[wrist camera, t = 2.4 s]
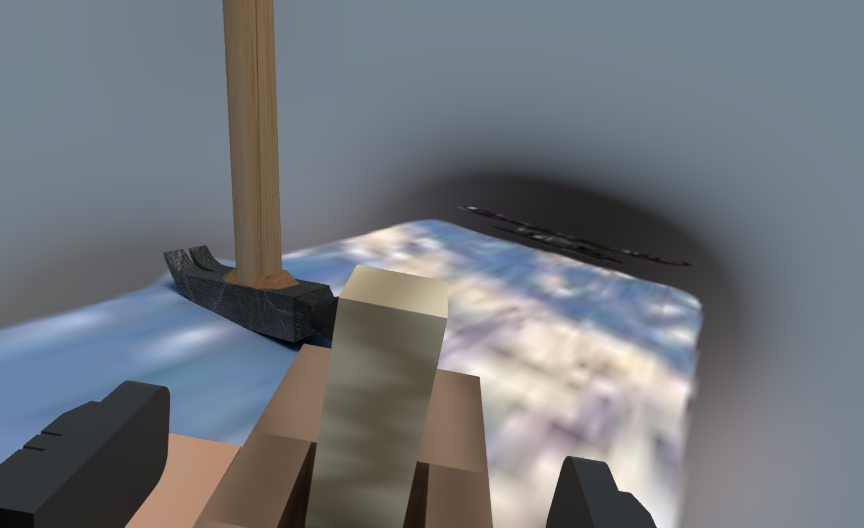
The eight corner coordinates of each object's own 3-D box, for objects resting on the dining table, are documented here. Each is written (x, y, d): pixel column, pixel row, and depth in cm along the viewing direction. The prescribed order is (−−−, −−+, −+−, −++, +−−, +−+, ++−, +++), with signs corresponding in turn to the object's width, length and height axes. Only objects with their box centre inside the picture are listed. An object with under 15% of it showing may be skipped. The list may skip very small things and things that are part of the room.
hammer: (167, 310, 56) (142, -9, 49) (209, 299, 60) (190, 3, 54) (321, 350, 46) (315, -38, 40) (357, 333, 51) (356, -20, 44)
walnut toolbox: (168, 677, 22) (175, 559, 20) (293, 419, 39) (303, 343, 37) (467, 730, 22) (500, 618, 20) (461, 451, 39) (479, 376, 38)
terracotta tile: (-63, 610, 23) (-65, 591, 22) (110, 436, 34) (110, 422, 34) (131, 644, 23) (132, 626, 23) (239, 459, 34) (240, 446, 34)
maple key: (289, 626, 25) (338, 297, 20) (311, 555, 29) (357, 264, 24) (377, 642, 25) (447, 318, 20) (388, 568, 29) (448, 282, 24)
